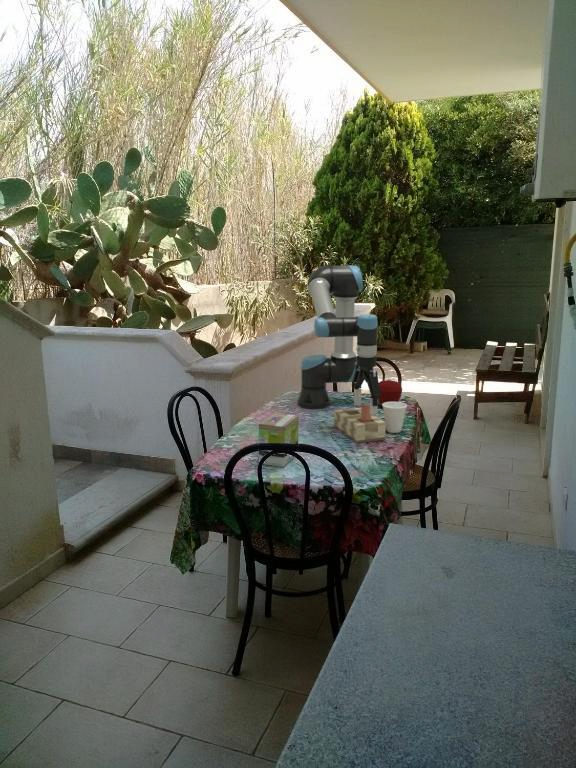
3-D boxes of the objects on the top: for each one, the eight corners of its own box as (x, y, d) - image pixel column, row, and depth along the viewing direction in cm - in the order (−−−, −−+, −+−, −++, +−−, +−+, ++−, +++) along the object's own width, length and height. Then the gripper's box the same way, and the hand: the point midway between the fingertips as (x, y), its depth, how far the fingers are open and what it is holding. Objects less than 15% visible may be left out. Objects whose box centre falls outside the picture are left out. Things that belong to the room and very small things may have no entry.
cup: (378, 433, 234) (379, 406, 232) (384, 426, 243) (385, 400, 241) (403, 436, 231) (404, 409, 228) (408, 428, 240) (409, 402, 237)
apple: (374, 409, 268) (375, 381, 265) (376, 403, 279) (377, 375, 276) (401, 410, 265) (402, 382, 262) (402, 404, 276) (403, 376, 273)
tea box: (285, 467, 199) (285, 426, 196) (258, 464, 202) (257, 423, 199) (299, 453, 213) (298, 414, 210) (273, 450, 216) (272, 411, 213)
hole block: (333, 426, 243) (333, 410, 242) (359, 423, 247) (360, 407, 245) (357, 443, 223) (357, 425, 221) (385, 439, 227) (385, 422, 225)
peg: (358, 433, 231) (359, 404, 228) (368, 432, 232) (369, 403, 229) (362, 436, 227) (363, 406, 224) (372, 435, 228) (373, 405, 226)
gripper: (343, 350, 233) (343, 402, 238) (372, 362, 210) (371, 419, 215) (360, 349, 235) (359, 400, 240) (391, 360, 212) (389, 417, 217)
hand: (365, 409), depth 227 cm, fingers open, 13 cm apart
